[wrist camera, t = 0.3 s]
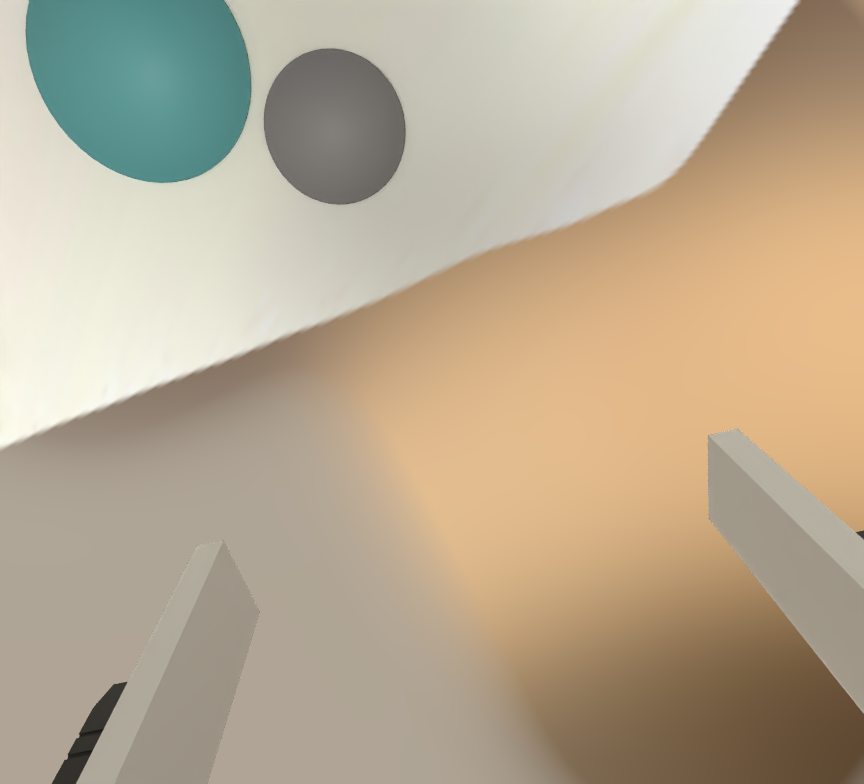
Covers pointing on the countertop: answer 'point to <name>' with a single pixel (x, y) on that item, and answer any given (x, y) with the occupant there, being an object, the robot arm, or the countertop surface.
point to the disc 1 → (142, 81)
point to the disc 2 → (334, 126)
